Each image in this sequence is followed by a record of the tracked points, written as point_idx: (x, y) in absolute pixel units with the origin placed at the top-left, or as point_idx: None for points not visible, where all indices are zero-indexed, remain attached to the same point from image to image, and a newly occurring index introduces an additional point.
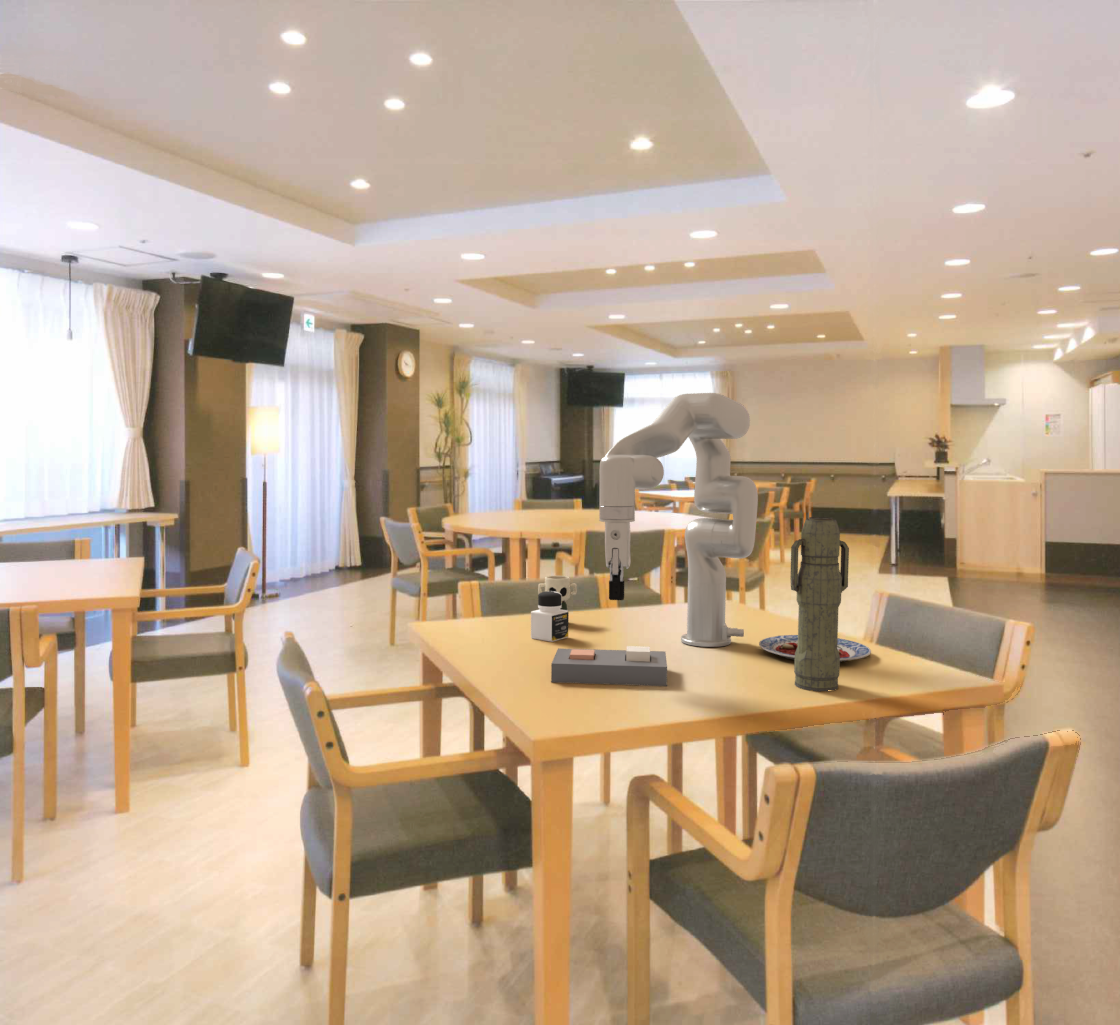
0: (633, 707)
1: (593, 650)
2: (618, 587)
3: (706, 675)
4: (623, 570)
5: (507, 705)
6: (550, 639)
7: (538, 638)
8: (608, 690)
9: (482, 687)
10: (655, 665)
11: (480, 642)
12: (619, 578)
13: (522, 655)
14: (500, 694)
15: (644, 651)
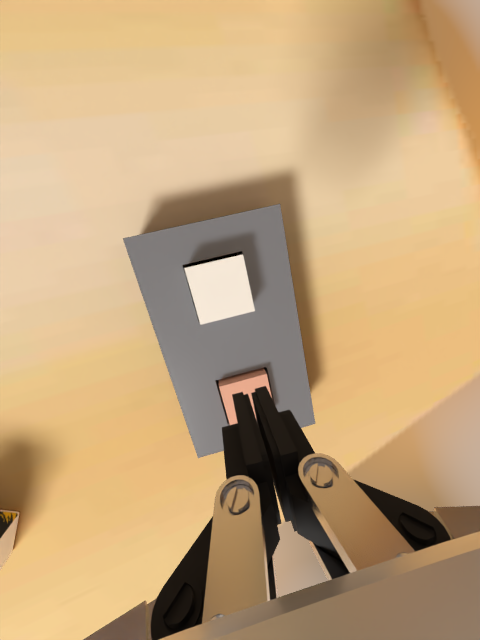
0: (406, 244)
1: (224, 387)
2: (306, 445)
3: (150, 134)
4: (228, 571)
5: (420, 408)
6: (16, 518)
7: (14, 539)
8: (323, 308)
9: (349, 468)
10: (274, 233)
11: (95, 591)
12: (368, 487)
13: (153, 505)
14: (376, 436)
15: (243, 268)
